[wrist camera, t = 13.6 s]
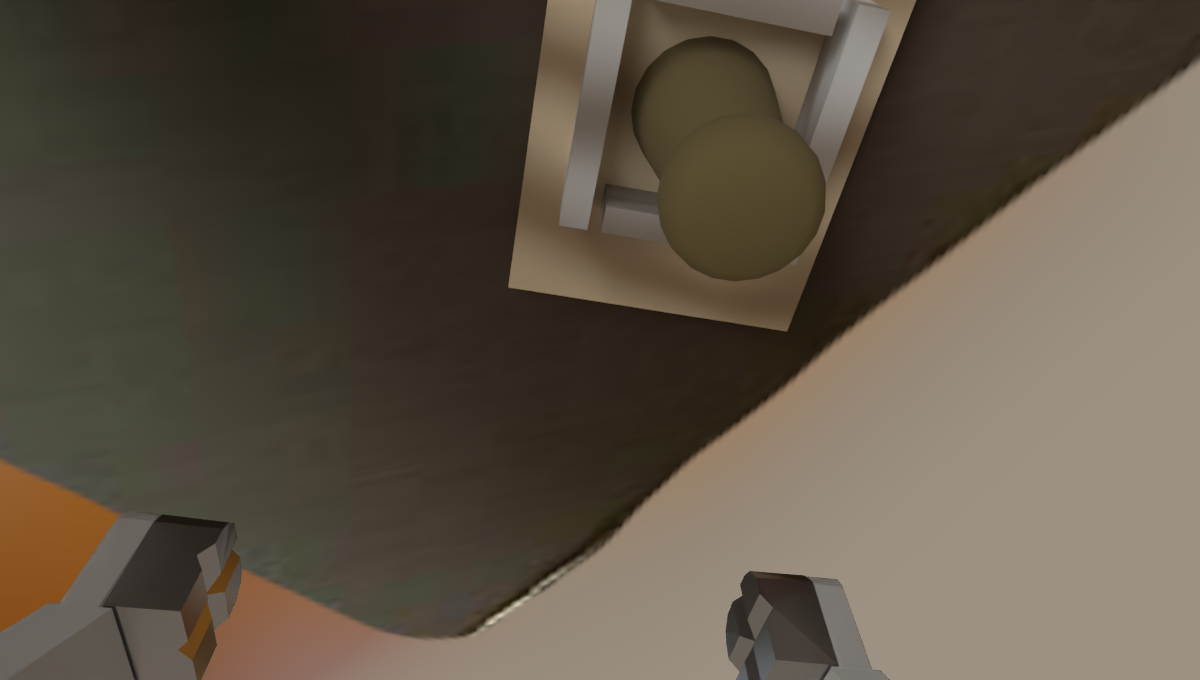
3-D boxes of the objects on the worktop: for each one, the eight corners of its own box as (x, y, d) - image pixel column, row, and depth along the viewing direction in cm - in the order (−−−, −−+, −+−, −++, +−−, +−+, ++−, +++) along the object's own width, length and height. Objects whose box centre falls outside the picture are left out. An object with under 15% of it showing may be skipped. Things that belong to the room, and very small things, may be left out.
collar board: (580, -224, 26) (578, -235, 23) (952, -136, 27) (1001, -134, 24) (511, 272, 37) (502, 314, 33) (780, 315, 38) (798, 360, 35)
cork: (663, 13, 29) (696, 90, 20) (801, 66, 30) (894, 162, 21) (610, 155, 32) (618, 279, 23) (738, 198, 33) (794, 332, 24)
